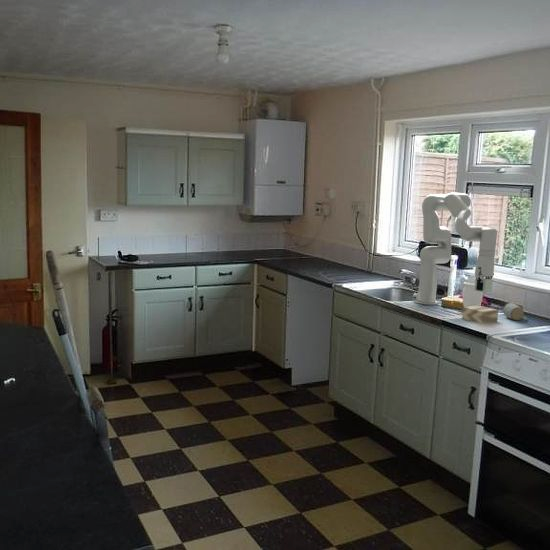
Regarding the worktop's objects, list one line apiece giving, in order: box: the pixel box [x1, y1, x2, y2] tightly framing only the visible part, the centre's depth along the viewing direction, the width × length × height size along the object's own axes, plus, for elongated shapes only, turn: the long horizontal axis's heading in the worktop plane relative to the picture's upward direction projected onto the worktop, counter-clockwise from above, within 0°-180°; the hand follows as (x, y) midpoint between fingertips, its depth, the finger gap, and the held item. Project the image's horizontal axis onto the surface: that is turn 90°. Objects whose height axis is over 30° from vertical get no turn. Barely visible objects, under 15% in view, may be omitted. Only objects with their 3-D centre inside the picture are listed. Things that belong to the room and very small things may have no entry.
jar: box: [462, 281, 484, 307], centre depth 331 cm, size 11×10×15 cm
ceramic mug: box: [503, 302, 528, 321], centre depth 317 cm, size 11×8×8 cm
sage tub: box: [474, 277, 494, 294], centre depth 308 cm, size 6×6×6 cm
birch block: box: [461, 305, 499, 324], centre depth 310 cm, size 12×12×6 cm
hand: (483, 289), depth 308 cm, fingers closed on sage tub, 6 cm apart
